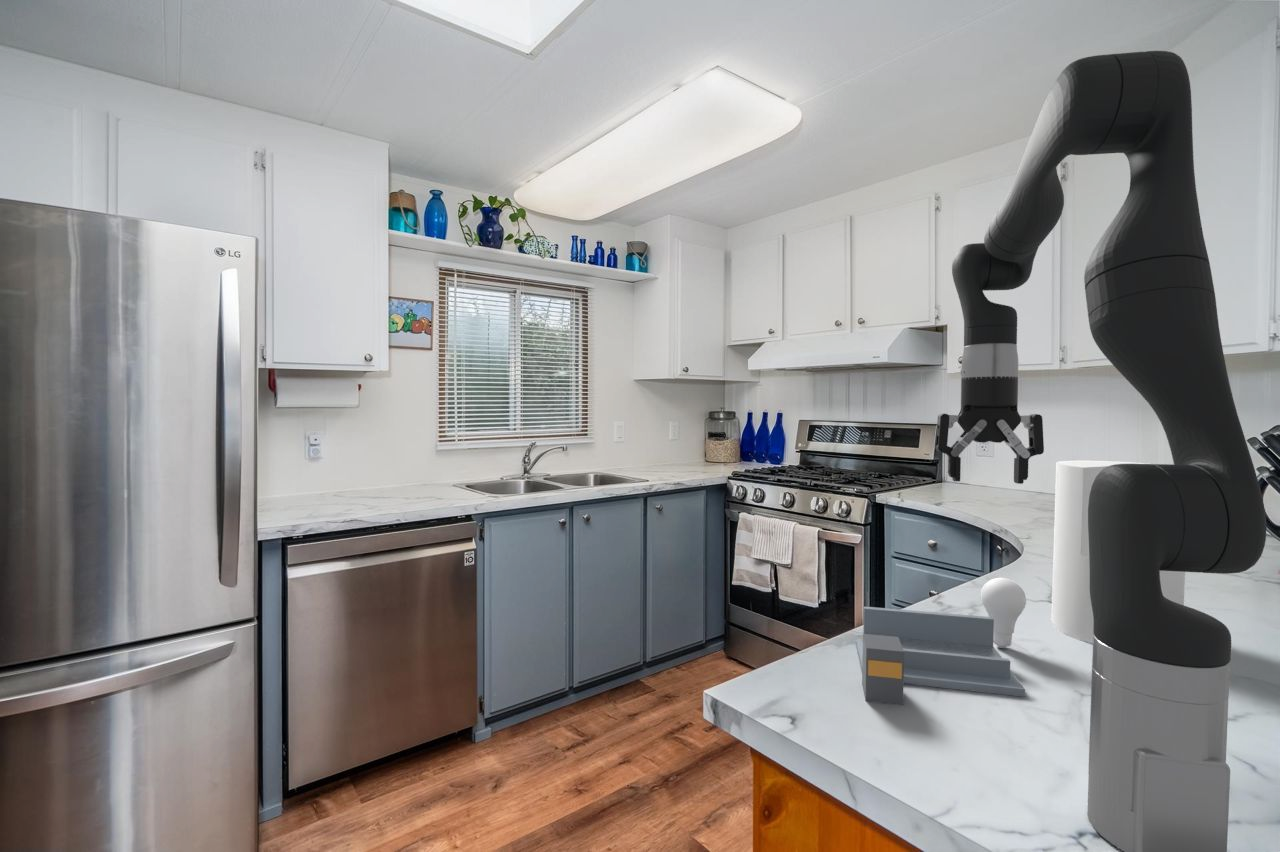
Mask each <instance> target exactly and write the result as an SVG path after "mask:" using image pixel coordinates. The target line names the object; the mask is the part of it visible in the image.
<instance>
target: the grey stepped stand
mask: <svg viewBox="0 0 1280 852" xmlns="http://www.w3.org/2000/svg"><path fill="white" fill-rule="evenodd" d="M862 621H863V624H862V625H863V628H862V629H863V631H862V632H863V633H862V635H863V634H872V635H883V636H893V637H901V638H912V639H922V640H933V641H944V642H954V643H965V644H976V645H987V646H993V647H994V643H993V632H994V619H993V618H992V617H989V616H982V615H971V614H970V615H969V614H957V613H948V612H947V613H946V612H934V611H922V610H921V611H920V610H911V609H910V610H909V609H898V608H889V607H888V608H886V607H875V606H863V619H862ZM855 646H856V651H857V657H858V661H859V665H860V672H861V673H862V658H863V639H860V638H859V639H858V638H857V639H856V640H855ZM903 650H904V682H903V684H907V685H916V686H926V687H933V688H943V689H951V690H960V691H961V690H962V691H969V692H970V691H971V692H979V693H985V694H986V693H987V694H996V695H1003V696H1004V695H1007V696H1014V697H1015V696H1016V697H1023V698H1024V697H1026V688H1025V687H1024V686H1023V685H1022V683H1021V682H1020V681H1019V679H1018V678H1017V677H1016V675H1015V674H1014V673H1013V672H1012V669H1011V660H1010V659H1009V658H1004V657H1002V658H995V657H985V656H975V655H964V654H954V653H944V652H934V651H923V650H913V649H903Z"/></svg>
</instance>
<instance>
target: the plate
mask: <svg viewBox="0 0 1280 852" xmlns="http://www.w3.org/2000/svg"><path fill="white" fill-rule="evenodd" d="M899 640H900V643H901V645H902V648H903V649H913V650H923V651H934V652H944V653H954V654H964V655H975V656H985V657H995V658H1003V657H1002V656H1001V654H1000V653H999V651H998V650H997V649H996V648H995V646H994V645H993V646H987V645H976V644H965V643H954V642H944V641H933V640H922V639H912V638H901V637H899Z"/></svg>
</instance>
